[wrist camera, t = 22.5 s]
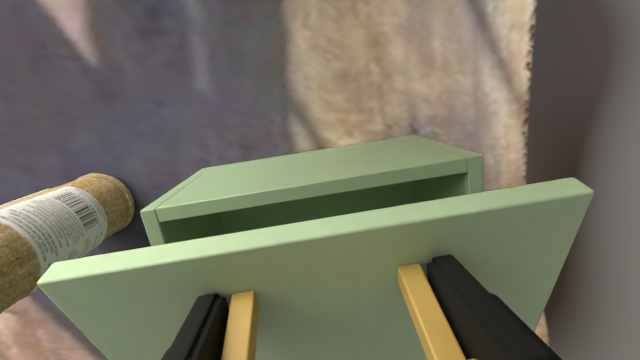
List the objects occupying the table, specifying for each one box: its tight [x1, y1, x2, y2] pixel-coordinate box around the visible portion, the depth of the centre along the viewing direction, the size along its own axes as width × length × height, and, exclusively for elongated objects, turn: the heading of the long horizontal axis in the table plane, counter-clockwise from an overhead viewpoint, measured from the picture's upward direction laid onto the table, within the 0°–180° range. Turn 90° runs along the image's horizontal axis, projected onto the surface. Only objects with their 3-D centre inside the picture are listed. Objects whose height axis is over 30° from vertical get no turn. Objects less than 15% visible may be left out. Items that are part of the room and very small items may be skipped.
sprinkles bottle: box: [0, 173, 135, 314], centre depth 16 cm, size 5×4×14 cm
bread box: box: [140, 135, 484, 246], centre depth 20 cm, size 14×15×9 cm
